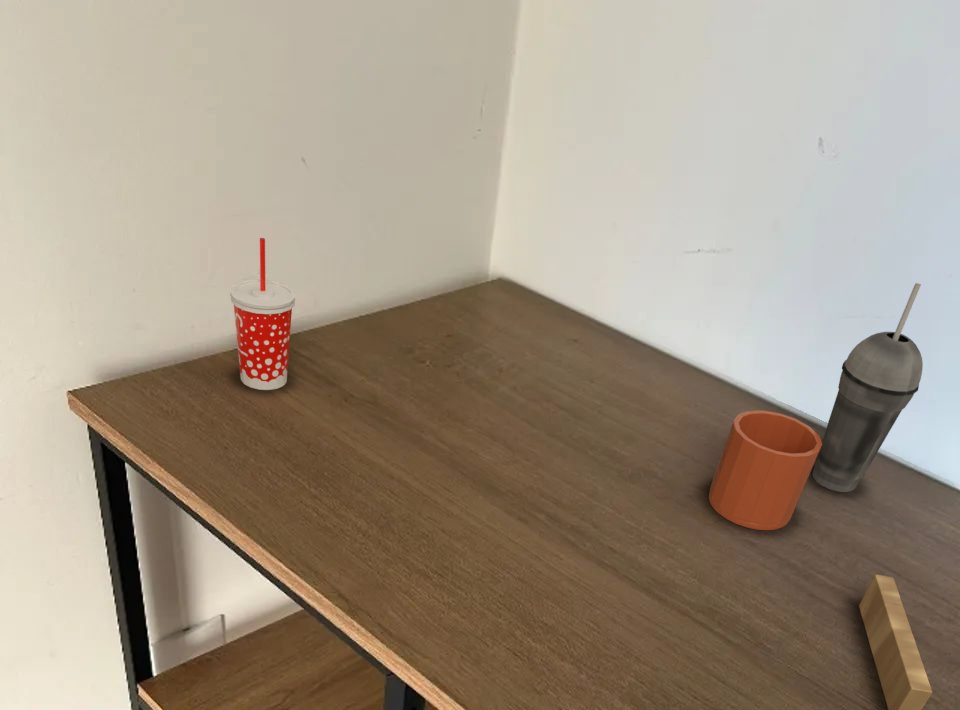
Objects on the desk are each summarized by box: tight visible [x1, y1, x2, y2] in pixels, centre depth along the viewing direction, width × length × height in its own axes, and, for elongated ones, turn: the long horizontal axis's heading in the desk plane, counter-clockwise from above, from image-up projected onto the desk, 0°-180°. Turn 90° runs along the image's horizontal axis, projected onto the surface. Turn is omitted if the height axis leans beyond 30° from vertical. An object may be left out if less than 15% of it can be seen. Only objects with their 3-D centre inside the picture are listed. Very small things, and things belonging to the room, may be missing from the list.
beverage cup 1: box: [229, 237, 296, 391], centre depth 93 cm, size 6×6×14 cm
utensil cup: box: [708, 410, 822, 531], centre depth 90 cm, size 8×8×8 cm
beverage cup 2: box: [811, 282, 924, 493], centre depth 92 cm, size 7×7×20 cm
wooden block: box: [858, 573, 933, 710], centre depth 76 cm, size 2×4×14 cm
